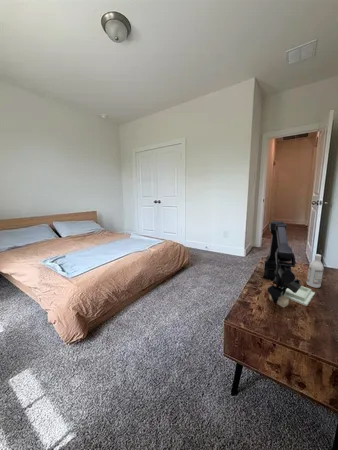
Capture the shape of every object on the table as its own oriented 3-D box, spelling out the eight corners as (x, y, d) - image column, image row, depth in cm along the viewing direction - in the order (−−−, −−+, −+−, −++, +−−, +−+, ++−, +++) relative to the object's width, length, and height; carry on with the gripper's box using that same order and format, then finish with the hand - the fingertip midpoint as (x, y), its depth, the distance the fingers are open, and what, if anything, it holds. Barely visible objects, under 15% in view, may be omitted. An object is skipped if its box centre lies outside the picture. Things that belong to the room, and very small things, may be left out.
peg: (269, 299, 104) (269, 293, 103) (273, 297, 106) (274, 291, 105) (283, 307, 97) (284, 300, 96) (288, 305, 99) (289, 298, 98)
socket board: (273, 293, 110) (274, 288, 109) (283, 283, 120) (284, 279, 119) (306, 306, 98) (307, 301, 97) (314, 294, 108) (315, 289, 107)
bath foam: (322, 286, 116) (328, 255, 111) (316, 289, 113) (321, 257, 108) (310, 281, 122) (315, 252, 117) (304, 283, 119) (308, 254, 114)
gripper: (294, 285, 86) (289, 315, 89) (305, 272, 98) (301, 299, 101) (268, 277, 94) (265, 304, 97) (282, 265, 106) (279, 290, 109)
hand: (278, 299), depth 101 cm, fingers open, 9 cm apart
